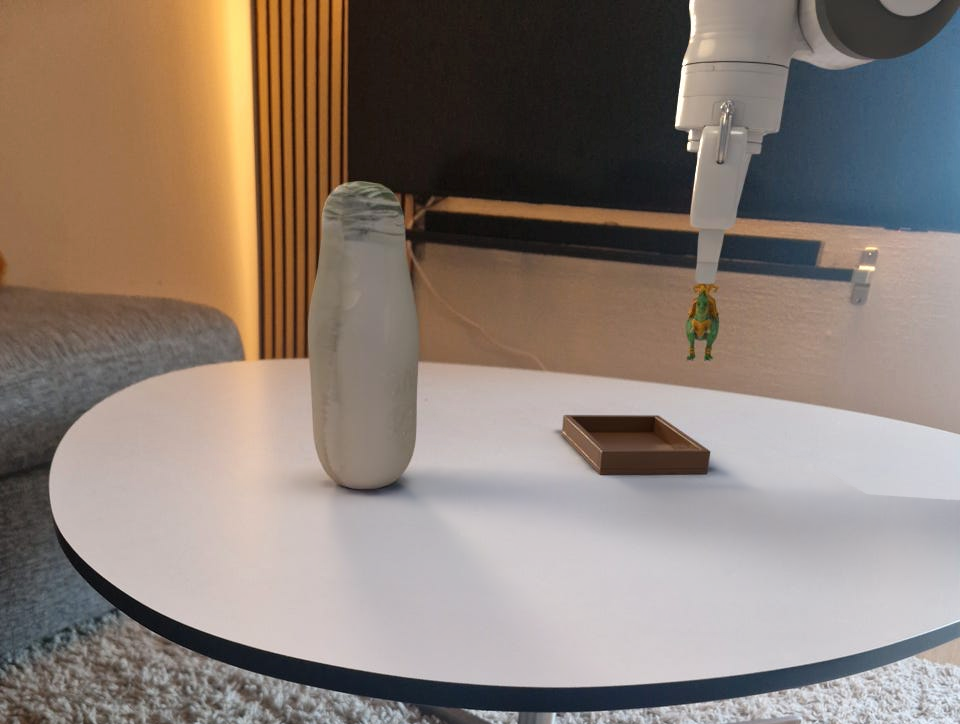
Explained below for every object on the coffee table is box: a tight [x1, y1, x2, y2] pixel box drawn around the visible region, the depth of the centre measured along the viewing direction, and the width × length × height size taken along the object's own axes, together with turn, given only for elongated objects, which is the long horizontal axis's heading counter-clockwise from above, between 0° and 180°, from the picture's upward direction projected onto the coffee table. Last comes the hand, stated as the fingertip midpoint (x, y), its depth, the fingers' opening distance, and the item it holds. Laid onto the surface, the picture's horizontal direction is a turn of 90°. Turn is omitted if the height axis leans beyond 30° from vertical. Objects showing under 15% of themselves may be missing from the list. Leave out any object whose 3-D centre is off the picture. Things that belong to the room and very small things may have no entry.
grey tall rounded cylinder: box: [307, 180, 420, 490], centre depth 89 cm, size 10×10×28 cm
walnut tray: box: [561, 414, 711, 475], centre depth 110 cm, size 18×13×3 cm
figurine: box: [685, 283, 720, 362], centre depth 88 cm, size 3×12×8 cm, turn 165°
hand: (705, 280), depth 85 cm, fingers closed on figurine, 4 cm apart
